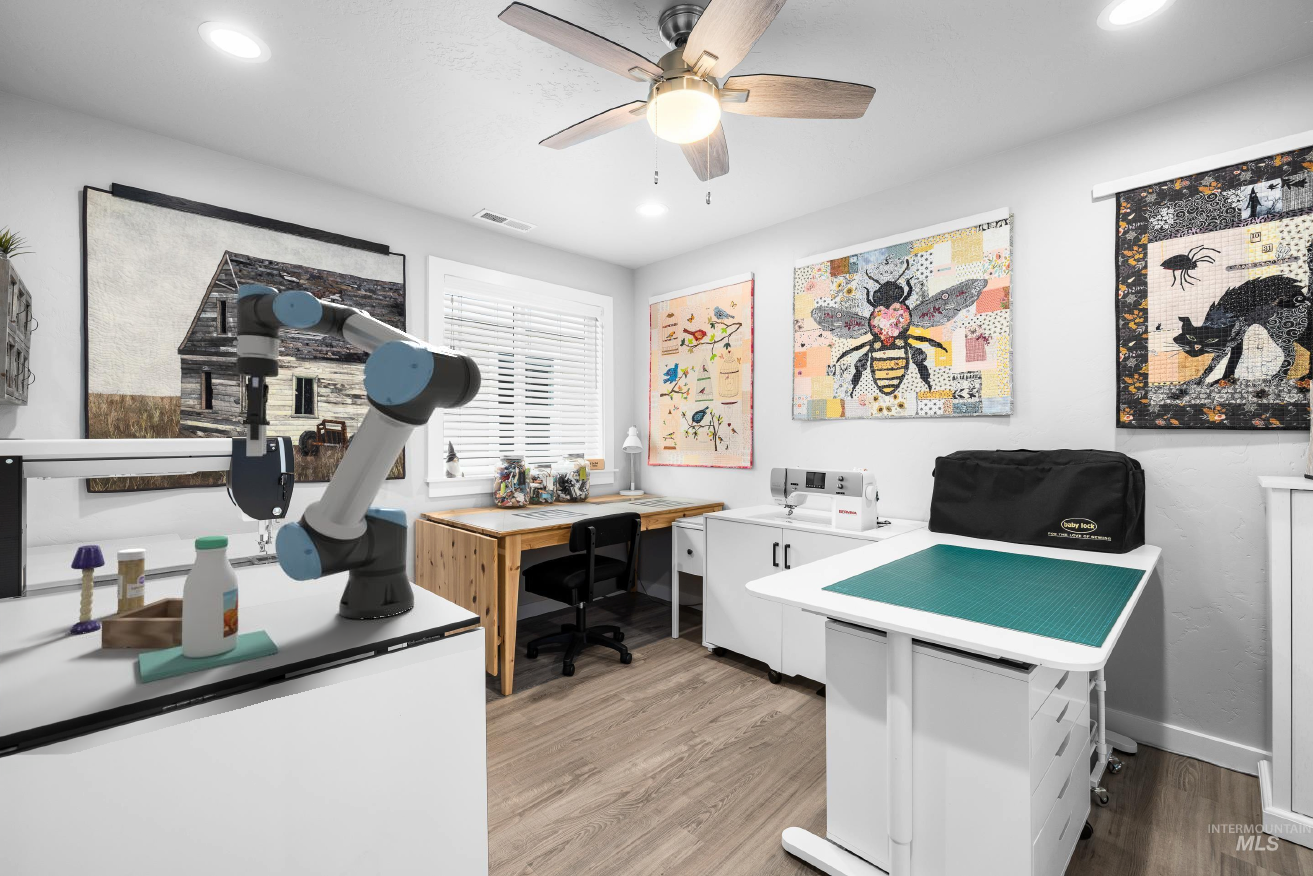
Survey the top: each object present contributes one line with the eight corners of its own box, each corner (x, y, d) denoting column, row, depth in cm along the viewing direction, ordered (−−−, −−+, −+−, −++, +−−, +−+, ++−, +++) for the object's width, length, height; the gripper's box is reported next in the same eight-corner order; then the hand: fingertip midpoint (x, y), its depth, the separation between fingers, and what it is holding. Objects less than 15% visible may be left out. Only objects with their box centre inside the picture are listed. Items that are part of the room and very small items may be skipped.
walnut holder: (235, 622, 116) (235, 598, 116) (181, 647, 102) (181, 620, 102) (165, 622, 115) (166, 598, 115) (101, 647, 101) (101, 620, 101)
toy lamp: (107, 625, 113) (108, 543, 113) (98, 632, 109) (99, 547, 109) (75, 628, 111) (76, 545, 111) (64, 636, 107) (65, 549, 107)
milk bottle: (206, 661, 94) (208, 542, 94) (170, 657, 96) (171, 540, 95) (248, 644, 102) (249, 535, 101) (214, 640, 103) (215, 532, 103)
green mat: (264, 635, 109) (264, 630, 109) (277, 653, 100) (277, 647, 100) (138, 660, 96) (138, 654, 96) (141, 682, 88) (141, 676, 88)
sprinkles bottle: (140, 613, 121) (140, 551, 121) (112, 615, 119) (113, 552, 119) (148, 607, 125) (149, 547, 125) (122, 609, 123) (122, 548, 123)
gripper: (241, 362, 130) (240, 453, 130) (230, 349, 109) (228, 457, 109) (280, 365, 134) (279, 453, 134) (276, 352, 113) (275, 457, 113)
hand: (256, 455), depth 122 cm, fingers open, 13 cm apart
